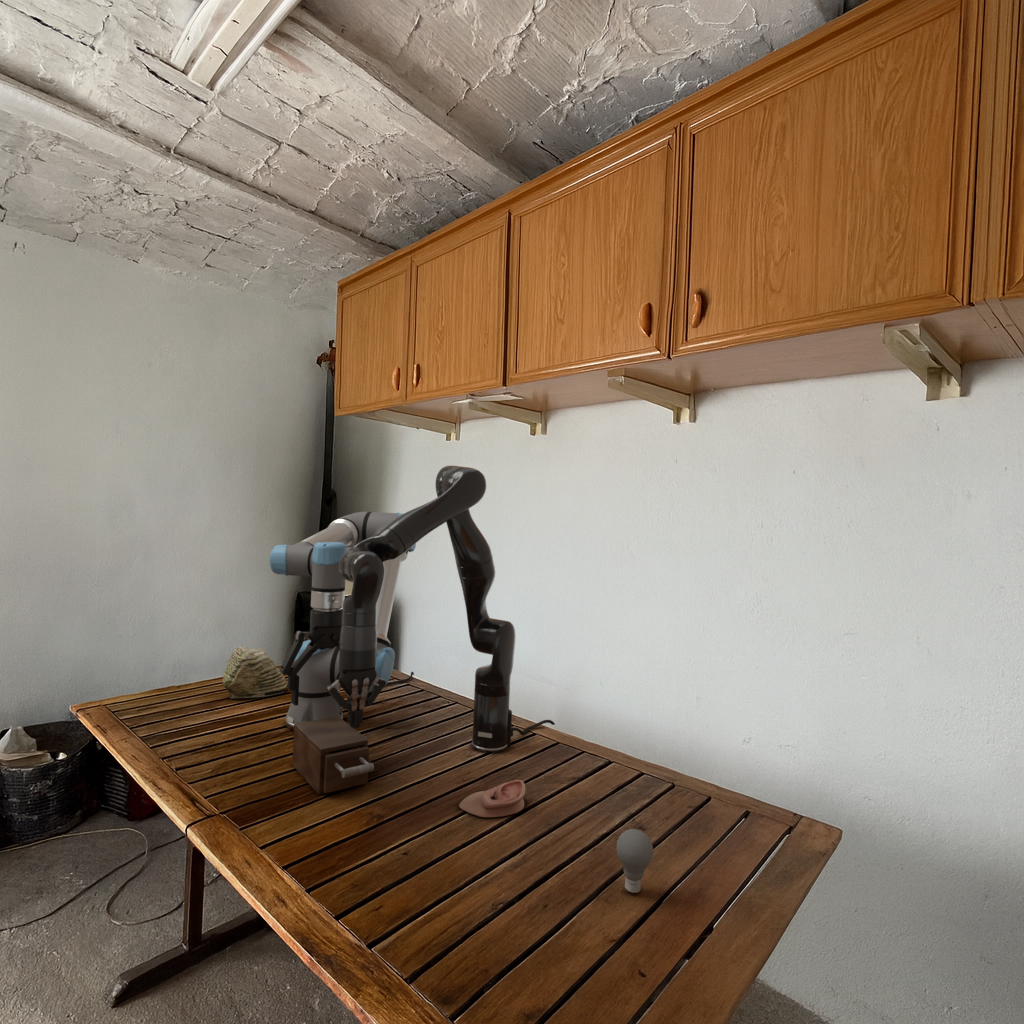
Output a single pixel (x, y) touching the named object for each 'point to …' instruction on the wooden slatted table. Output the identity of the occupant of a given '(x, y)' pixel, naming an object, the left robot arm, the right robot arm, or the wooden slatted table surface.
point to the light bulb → (634, 857)
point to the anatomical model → (496, 800)
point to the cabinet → (321, 746)
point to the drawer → (346, 768)
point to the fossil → (252, 674)
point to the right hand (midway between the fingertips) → (355, 726)
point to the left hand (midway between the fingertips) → (323, 699)
